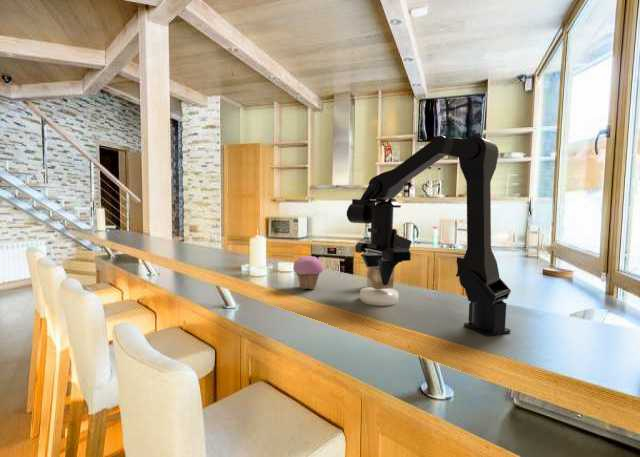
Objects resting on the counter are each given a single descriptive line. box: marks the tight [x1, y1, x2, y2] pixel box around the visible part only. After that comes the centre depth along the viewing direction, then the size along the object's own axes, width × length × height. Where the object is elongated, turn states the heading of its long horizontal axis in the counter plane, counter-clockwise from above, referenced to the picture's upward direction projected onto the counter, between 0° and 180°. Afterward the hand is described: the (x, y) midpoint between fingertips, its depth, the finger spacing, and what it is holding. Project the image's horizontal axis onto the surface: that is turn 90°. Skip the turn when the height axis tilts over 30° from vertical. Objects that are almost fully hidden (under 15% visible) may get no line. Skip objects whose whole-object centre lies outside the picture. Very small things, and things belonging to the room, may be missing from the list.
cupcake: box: [293, 255, 324, 290], centre depth 102 cm, size 9×9×10 cm
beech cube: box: [366, 266, 395, 289], centre depth 91 cm, size 5×5×5 cm
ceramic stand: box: [360, 286, 399, 307], centre depth 91 cm, size 10×10×2 cm
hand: (379, 282), depth 91 cm, fingers closed on beech cube, 5 cm apart
